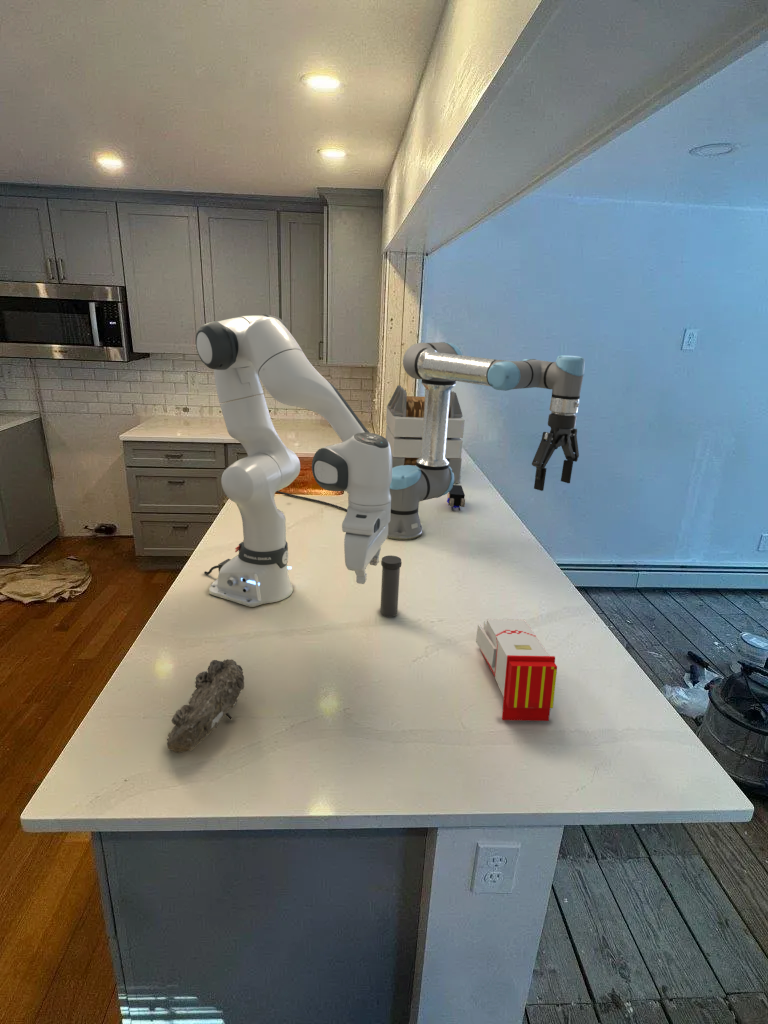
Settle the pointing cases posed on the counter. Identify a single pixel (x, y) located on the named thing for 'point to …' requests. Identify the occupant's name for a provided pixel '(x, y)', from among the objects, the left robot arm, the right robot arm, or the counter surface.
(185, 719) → the fossil
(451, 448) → the grey slatted wooden crate
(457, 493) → the figurine character
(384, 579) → the jar
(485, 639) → the toy
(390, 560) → the lid
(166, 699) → the counter surface
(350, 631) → the counter surface
